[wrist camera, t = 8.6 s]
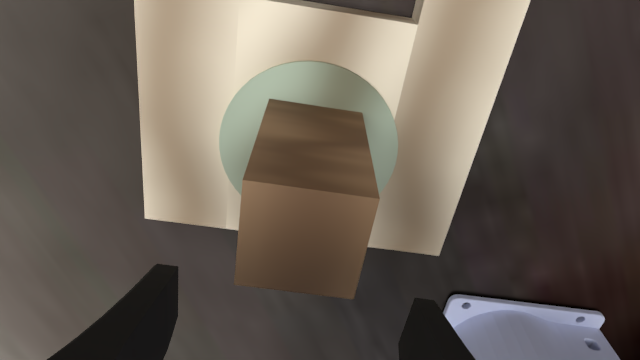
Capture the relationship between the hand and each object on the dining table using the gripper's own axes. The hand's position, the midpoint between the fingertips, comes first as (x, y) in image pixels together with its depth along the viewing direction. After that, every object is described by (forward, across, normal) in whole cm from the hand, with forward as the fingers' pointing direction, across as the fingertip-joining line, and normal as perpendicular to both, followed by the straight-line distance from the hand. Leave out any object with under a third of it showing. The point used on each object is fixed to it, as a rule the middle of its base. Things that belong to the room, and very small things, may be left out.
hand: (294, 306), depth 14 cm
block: (+8, 0, -2) cm, 8 cm away
